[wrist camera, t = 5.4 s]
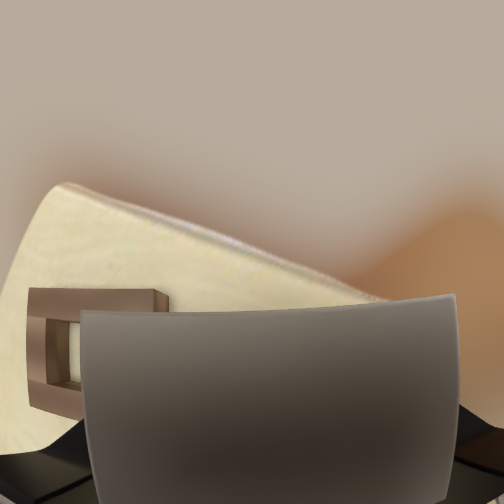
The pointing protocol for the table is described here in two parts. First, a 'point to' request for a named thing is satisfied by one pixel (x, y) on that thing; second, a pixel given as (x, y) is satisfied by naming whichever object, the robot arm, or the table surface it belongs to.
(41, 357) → the walnut groove block
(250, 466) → the grey wooden tall block
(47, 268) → the table surface
